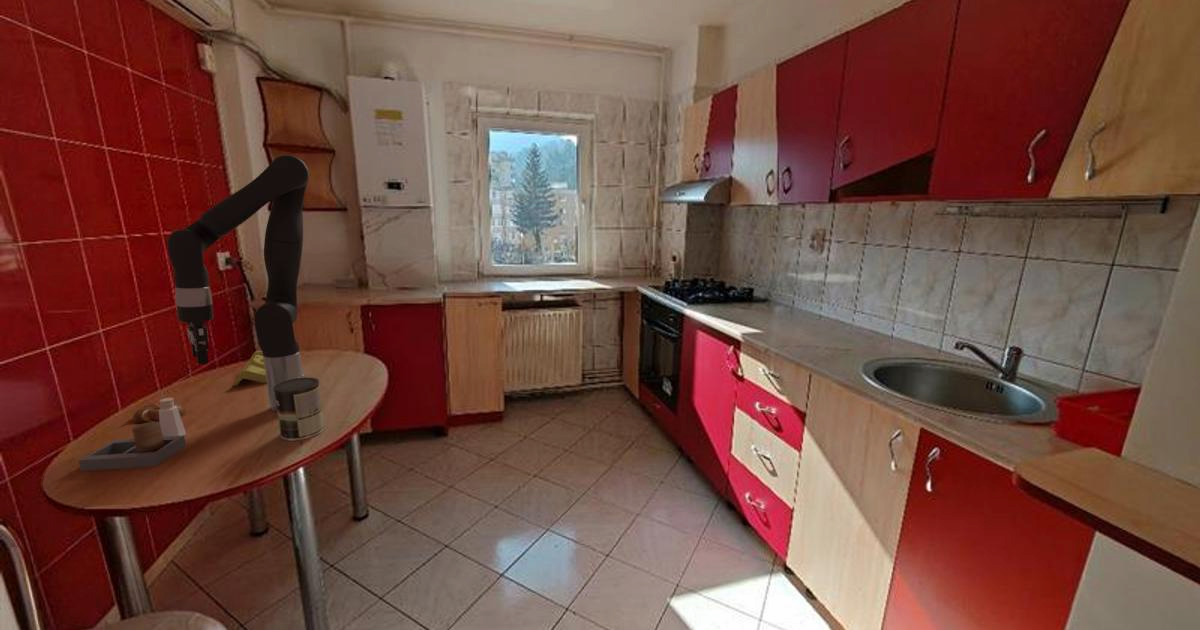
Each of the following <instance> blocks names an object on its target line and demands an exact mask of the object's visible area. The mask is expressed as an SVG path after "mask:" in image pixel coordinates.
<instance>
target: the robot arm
mask: <svg viewBox="0 0 1200 630" xmlns="http://www.w3.org/2000/svg"><path fill="white" fill-rule="evenodd" d="M309 179H310V171H309V169H308V166H307V165H306V163H305V162H304V161H303V160H301V159H300V158H298V157H296V156H294V155H290V154H284V155H283V154H282V155H279V156H277V157H275V158H273V160H272V161H271V163H270V164H268V166H267V167H266V168H265V169H264V170H263V171H262V172H260V174H259V175H258V176H257V177H255V179H253V180H252V181H250V182H249V183H247V184H245V186H243V187H241V188H240V189H239V190H237V191H235V192H234V193H233V194H231V195H229V196H227V197H226V198H224V199H222V200H221V201H219V202H218V203H217V204H215V205H213V206H212V207H211V208H209V209H208V210H206V211H205V212H204V213H201V215H200V217H199V219H197V220H195V221H194V222H192V223H191V224H189V225H188V226H186V227H184V228H183V229H177V230H174V231H172V232H171V233H170V234H168V235H169V236H168V237H167V242H166V243H167V244H166V247H167V253H168V256H169V259H170V262H171V266H172V269H173V276H174V277H173V279H174V287H175V292H174V293H175V296H174V297H175V298H174V299H175V308H176V314H177V320H178V321H179V322H181V323H186V324H187V326H186V331H187V337H188V340H189V343H190V345H191V353H192V357H193V358H196V362H197V365H199V366H200V365H206V364H209V355H208V350H210V346H209V335H208V334H209V332H208V331H209V329H208V326H207V325H206V324H204V323H205V322H208V321H209V322H210V321H211V320H213V319H214V318H215V315H214V305H213V296H212V290H211V285H210V277H209V271H208V269H207V266H205V262H204V255H203V252H205V251H206V250H207V249H209V248H211V246H213V245H214V244H215V243H216V242H218V241H219V240H220V239H221V238H222V237H223V236H225V235H227V234H229V233H231V232H232V231H233V230H235V229H236V228H238V227H239V226H241V225H242V224H243V223H245V222H246V221H247V220H249V219H250V218H251V217H252V216H253V215H255V214H256V213H257V212H258V211H259V210H260V209H262V208H264V206H265V205H267V204H268V203H270V202H272V204H271V208H270V213H269V216H268V219H267V223H266V227H265V234H264V243H263V260H264V266H265V271H266V275H267V292H266V297H265V300H264V304H262V305H260V306H259V307H258V308H257V309H256V311H255V314H254V328H255V332H256V338H257V343H258V347H259V348H260V351H262V353H263V360H264V366H265V373H266V379H267V383H266V384H267V393H268V397H269V404H270V410H271V411H272V412H274V413H277V406H276V399H275V392H274V390H273V387H274V386H275V385H277V384H279V383H281V382H283V381H287V380H291V379H296V378H307V374H306V373H305V372H304V373H303V366H302V360H301V359H302V358H301V353H300V345H299V344H300V343H299V342H298V341H297V339H296V335H295V330H294V323H295V322H296V320H297V319H298V318H297V317H298V298H297V295H298V293H297V290H298V289H297V288H298V279H299V275H300V269H301V263H302V255H303V243H304V221H303V220H304V218H303V205H304V199H305V193H306V189H307V186H308V182H309Z"/></svg>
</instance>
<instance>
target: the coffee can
mask: <svg viewBox="0 0 1200 630" xmlns="http://www.w3.org/2000/svg"><path fill="white" fill-rule="evenodd" d="M273 390H274V392H275V399H276V406H277V412H276V413H277V418H278V419H277V420H278V427H279V432H280V438H281V439H282V440H283V441H288V442H296V441H303V440H308V439H310V438H314V437H315V436H318V435H319V434H321V433H322V432H323V431H324V430H325V424H324V416H323V409H322V402H321V401H322V400H321V393H320V381H319V379H318V378H315V377H306V378H296V379H291V380H287V381H283V382H281V383H279V384H277V385H275V386H274V387H273Z"/></svg>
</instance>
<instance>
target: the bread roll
mask: <svg viewBox="0 0 1200 630" xmlns="http://www.w3.org/2000/svg"><path fill="white" fill-rule="evenodd" d="M173 402H174V401H173ZM174 406H177V409H178V412H179V414H180V417H181V418H182V417H183V416H185V414H186V409H185V408H186V407H185V406H184V405H183V404H180V403H178V402H174ZM159 409H161V406H160V403H159V402H158V403H152V404H147V405H144V406H142V407H141V408H139V409H137V410H135V412H134V413H133V415H132V420H133V422H134V423H135V424H137V425H140V424H143V423H148V422H160V421H159Z"/></svg>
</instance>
